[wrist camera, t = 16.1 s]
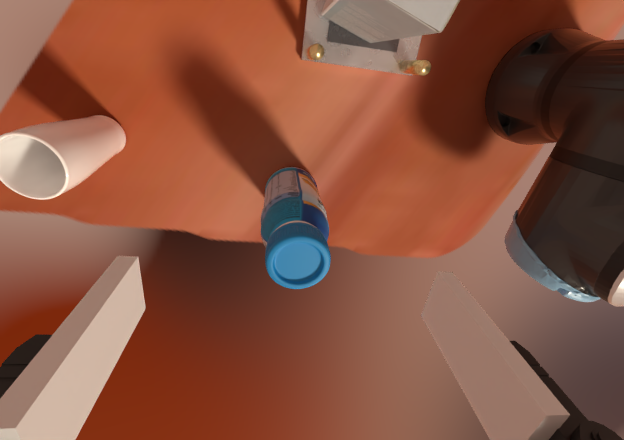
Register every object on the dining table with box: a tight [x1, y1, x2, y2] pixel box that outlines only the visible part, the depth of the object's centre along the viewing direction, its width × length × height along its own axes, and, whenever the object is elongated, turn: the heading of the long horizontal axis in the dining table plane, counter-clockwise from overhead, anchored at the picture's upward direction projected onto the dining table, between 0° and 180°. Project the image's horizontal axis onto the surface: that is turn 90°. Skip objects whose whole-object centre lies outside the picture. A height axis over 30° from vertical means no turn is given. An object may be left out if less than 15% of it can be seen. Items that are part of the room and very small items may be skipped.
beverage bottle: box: [261, 167, 331, 289], centre depth 40 cm, size 8×8×20 cm
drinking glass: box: [0, 115, 126, 199], centre depth 36 cm, size 7×7×15 cm
